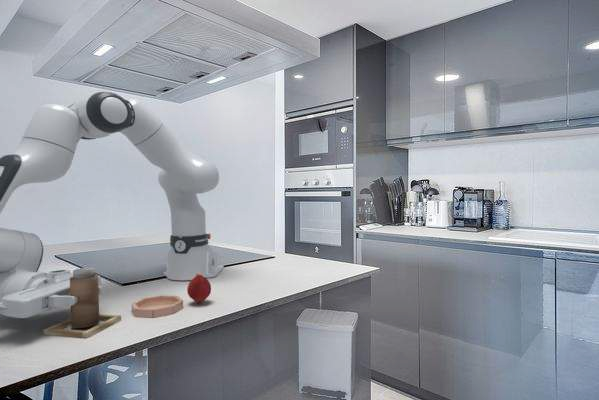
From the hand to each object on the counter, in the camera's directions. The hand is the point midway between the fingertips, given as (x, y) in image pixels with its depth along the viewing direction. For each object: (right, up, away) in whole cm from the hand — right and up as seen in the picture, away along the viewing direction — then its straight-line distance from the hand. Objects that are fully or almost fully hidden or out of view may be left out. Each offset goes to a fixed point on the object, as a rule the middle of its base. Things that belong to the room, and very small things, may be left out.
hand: (88, 295), depth 76 cm
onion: (+19, -7, +16) cm, 26 cm away
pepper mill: (-1, -6, 0) cm, 6 cm away
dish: (+10, -6, +11) cm, 17 cm away
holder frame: (-1, -7, 0) cm, 7 cm away
